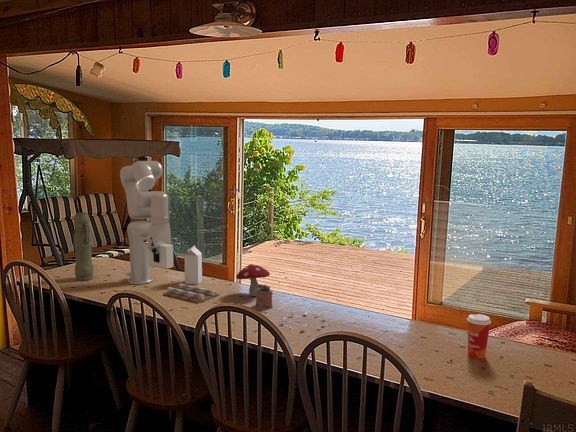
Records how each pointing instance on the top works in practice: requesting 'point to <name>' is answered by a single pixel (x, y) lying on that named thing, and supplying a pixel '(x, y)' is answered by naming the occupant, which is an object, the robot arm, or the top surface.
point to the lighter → (264, 296)
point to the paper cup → (478, 335)
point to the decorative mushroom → (252, 276)
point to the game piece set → (304, 324)
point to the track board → (190, 293)
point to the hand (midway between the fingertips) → (160, 260)
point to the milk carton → (193, 266)
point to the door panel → (162, 256)
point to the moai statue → (83, 247)
